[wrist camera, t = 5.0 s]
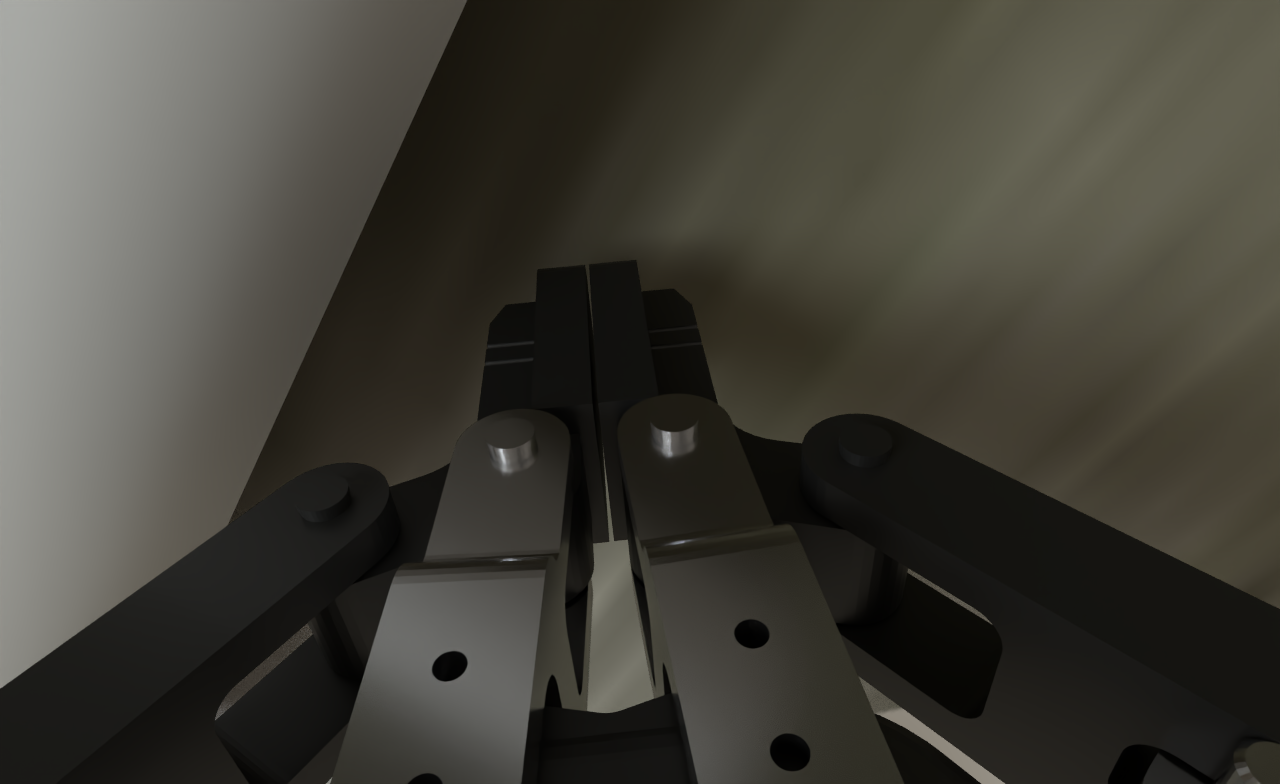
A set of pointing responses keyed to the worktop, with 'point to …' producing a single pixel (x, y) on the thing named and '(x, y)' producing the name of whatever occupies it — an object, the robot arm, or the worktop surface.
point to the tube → (170, 264)
